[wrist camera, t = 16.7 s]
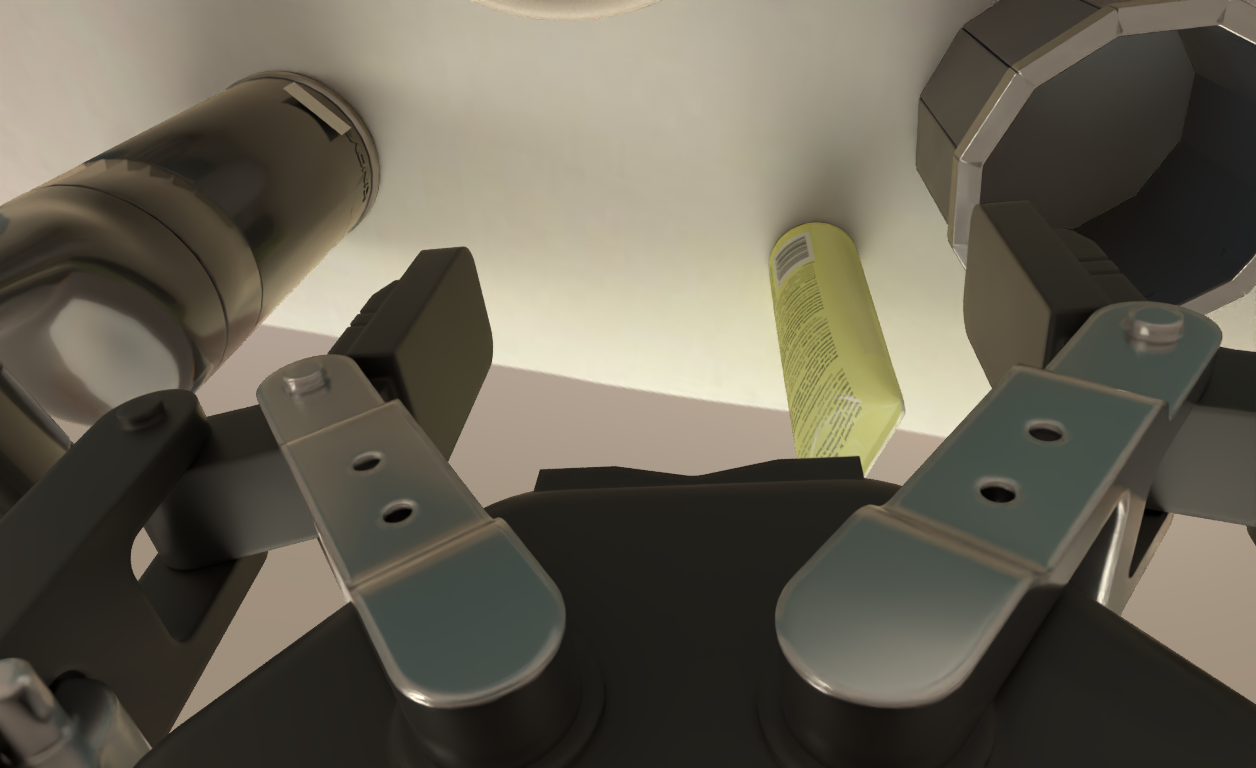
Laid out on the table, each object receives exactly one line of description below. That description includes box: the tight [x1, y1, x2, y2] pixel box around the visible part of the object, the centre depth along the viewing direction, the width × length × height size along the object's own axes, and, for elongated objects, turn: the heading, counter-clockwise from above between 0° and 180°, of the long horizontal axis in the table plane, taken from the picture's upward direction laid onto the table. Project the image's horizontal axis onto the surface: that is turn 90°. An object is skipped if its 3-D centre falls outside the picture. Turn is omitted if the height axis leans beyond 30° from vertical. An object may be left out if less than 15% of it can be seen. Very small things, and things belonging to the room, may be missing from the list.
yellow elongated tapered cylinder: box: [769, 222, 905, 478], centre depth 40 cm, size 6×5×20 cm
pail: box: [916, 0, 1256, 315], centre depth 38 cm, size 14×14×10 cm
